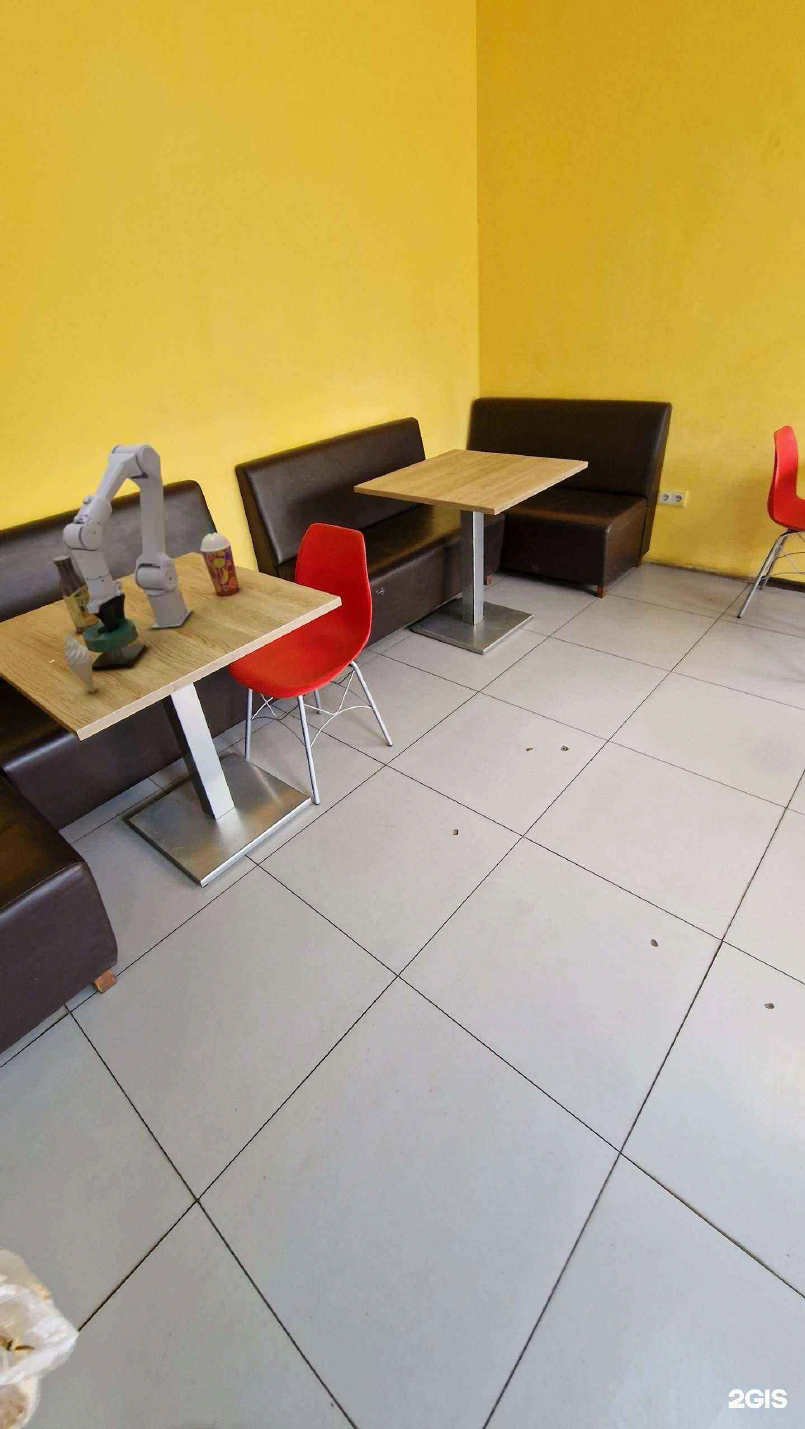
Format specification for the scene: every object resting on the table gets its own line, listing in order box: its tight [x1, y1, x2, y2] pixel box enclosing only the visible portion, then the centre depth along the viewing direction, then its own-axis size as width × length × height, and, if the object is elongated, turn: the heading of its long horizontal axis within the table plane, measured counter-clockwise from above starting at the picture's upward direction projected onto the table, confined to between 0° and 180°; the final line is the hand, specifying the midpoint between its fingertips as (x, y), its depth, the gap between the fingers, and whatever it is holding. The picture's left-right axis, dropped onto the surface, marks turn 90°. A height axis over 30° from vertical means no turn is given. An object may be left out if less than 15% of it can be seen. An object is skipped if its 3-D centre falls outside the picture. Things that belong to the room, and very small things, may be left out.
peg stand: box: [91, 643, 148, 672], centre depth 152 cm, size 10×10×6 cm
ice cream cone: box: [63, 631, 95, 693], centre depth 137 cm, size 5×5×15 cm
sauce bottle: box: [52, 554, 100, 634], centre depth 166 cm, size 6×6×20 cm
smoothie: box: [200, 522, 239, 596], centre depth 178 cm, size 8×8×20 cm
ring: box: [81, 617, 139, 654], centre depth 150 cm, size 12×12×3 cm
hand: (117, 628), depth 154 cm, fingers closed on ring, 3 cm apart
